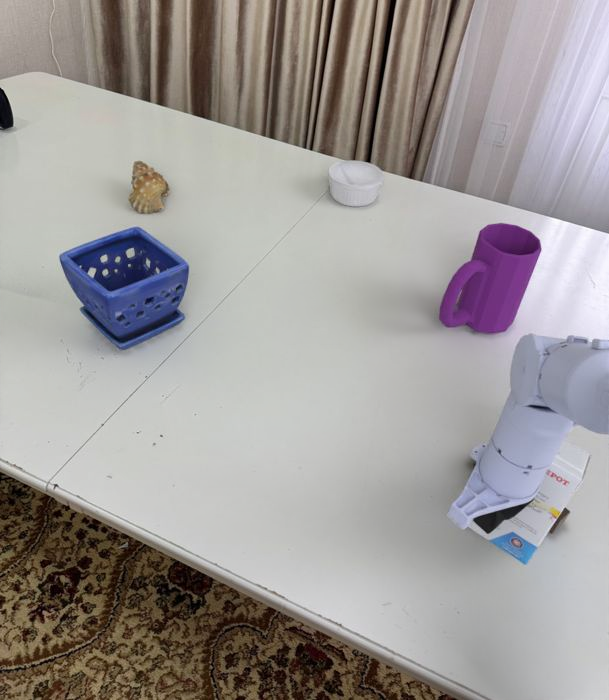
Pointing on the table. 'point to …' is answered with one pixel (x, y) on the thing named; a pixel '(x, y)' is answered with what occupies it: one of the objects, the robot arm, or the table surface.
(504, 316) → the mug
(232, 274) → the table surface
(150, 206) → the seashell
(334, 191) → the ramekin
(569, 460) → the ink box
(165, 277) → the flower pot
